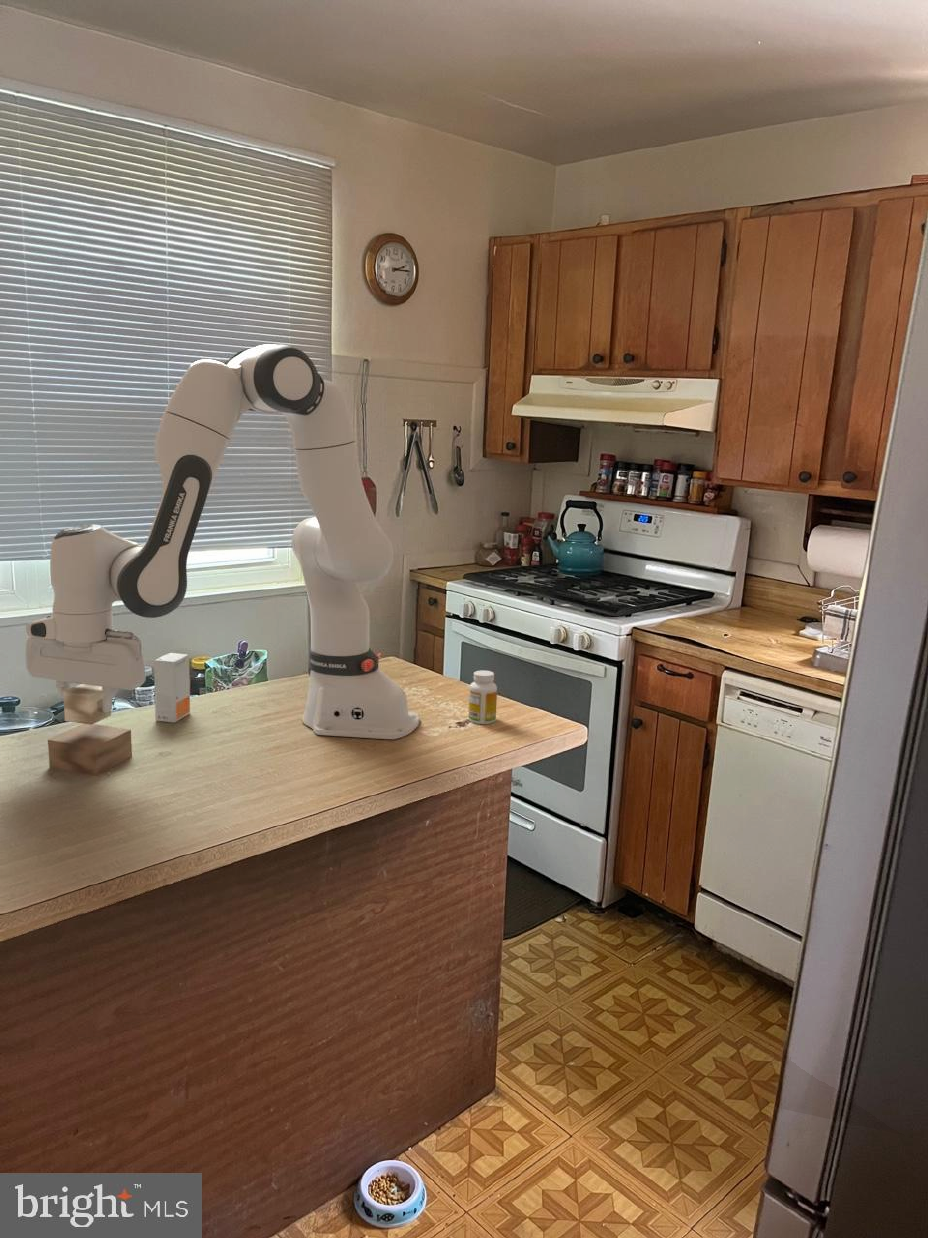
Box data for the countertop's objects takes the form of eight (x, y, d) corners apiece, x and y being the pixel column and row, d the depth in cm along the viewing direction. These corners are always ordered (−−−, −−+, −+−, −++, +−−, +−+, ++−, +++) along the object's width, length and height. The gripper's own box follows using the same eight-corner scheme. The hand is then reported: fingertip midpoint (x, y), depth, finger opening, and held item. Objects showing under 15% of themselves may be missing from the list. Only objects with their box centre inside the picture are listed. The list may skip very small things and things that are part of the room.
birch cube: (111, 715, 149) (109, 686, 148) (91, 724, 144) (89, 695, 143) (85, 711, 150) (83, 683, 149) (64, 721, 145) (63, 691, 144)
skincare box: (175, 723, 168) (173, 662, 165) (154, 721, 169) (152, 660, 166) (191, 713, 174) (189, 654, 171) (171, 711, 175) (169, 652, 172)
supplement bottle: (495, 716, 179) (497, 669, 177) (495, 725, 174) (498, 677, 172) (468, 715, 179) (470, 668, 177) (468, 724, 174) (470, 676, 172)
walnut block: (132, 757, 152) (130, 729, 151) (95, 777, 143) (94, 747, 142) (88, 750, 154) (86, 722, 153) (49, 768, 146) (47, 739, 145)
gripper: (152, 628, 144) (155, 710, 147) (44, 616, 149) (49, 696, 152) (128, 637, 138) (131, 722, 141) (16, 624, 143) (22, 707, 146)
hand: (88, 708), depth 147 cm, fingers closed on birch cube, 5 cm apart
